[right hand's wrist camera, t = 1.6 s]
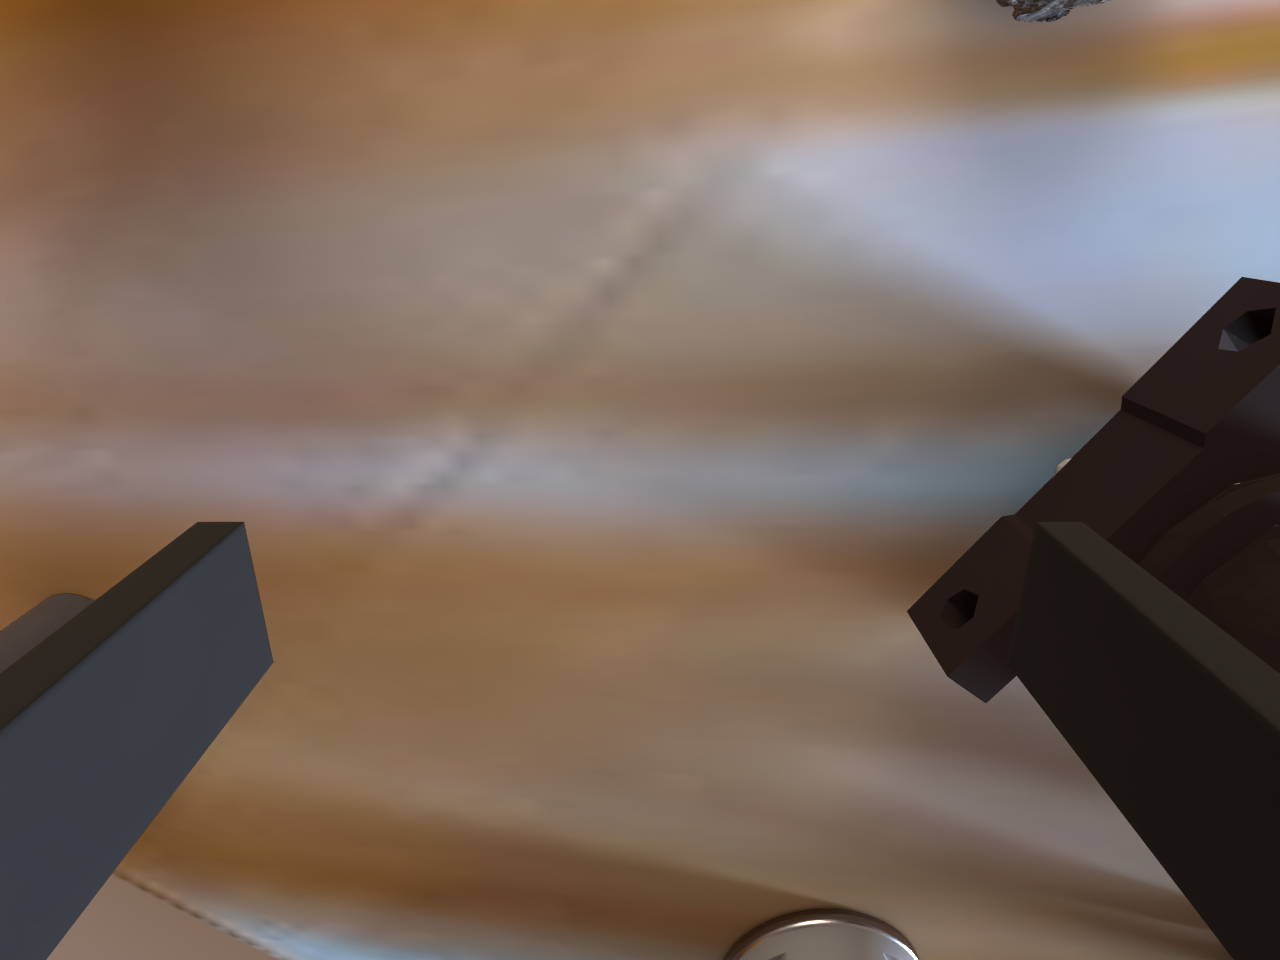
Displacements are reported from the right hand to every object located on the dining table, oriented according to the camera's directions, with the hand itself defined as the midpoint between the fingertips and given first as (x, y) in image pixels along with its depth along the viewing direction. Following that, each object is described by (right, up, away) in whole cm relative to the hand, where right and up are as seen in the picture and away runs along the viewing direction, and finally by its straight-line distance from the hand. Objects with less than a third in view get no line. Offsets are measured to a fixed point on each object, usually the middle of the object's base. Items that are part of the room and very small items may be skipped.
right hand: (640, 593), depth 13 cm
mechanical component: (+33, -4, +32) cm, 46 cm away
